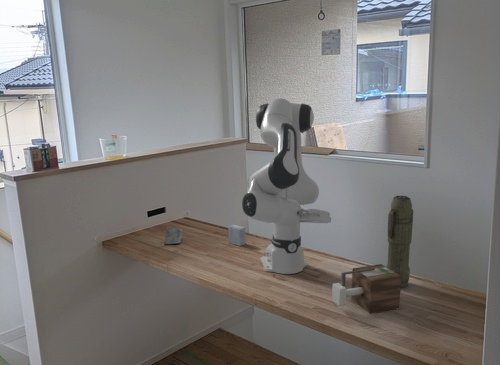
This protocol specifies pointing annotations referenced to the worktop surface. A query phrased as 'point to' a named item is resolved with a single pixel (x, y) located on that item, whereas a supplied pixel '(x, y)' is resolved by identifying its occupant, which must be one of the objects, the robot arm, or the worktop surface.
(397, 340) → the worktop surface
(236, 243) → the medicine box
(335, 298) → the peg
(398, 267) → the olive green tall piece
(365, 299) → the block
